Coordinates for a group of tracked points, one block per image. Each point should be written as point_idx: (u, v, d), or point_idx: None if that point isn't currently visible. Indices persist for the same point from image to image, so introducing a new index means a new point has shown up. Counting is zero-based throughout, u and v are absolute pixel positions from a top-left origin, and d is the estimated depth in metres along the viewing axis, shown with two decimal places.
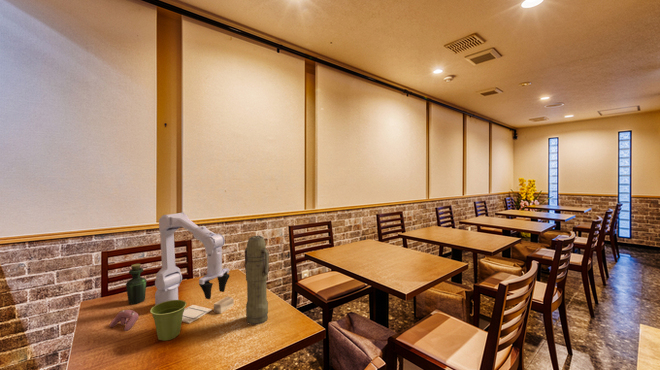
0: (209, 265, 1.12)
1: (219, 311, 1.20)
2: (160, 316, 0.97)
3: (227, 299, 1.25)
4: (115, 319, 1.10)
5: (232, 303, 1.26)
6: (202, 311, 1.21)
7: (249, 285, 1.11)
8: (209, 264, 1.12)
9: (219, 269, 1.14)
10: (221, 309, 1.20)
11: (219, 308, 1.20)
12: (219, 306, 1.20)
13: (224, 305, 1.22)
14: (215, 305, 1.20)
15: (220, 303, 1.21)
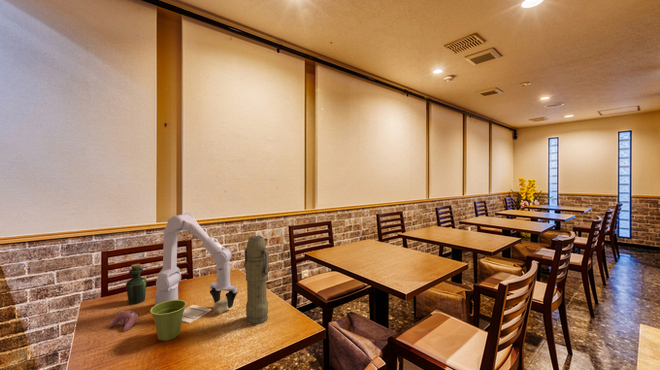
0: None
1: (219, 311, 1.20)
2: (160, 316, 0.97)
3: None
4: (114, 319, 1.10)
5: None
6: (202, 311, 1.21)
7: (249, 285, 1.11)
8: (220, 277, 1.21)
9: (218, 283, 1.21)
10: (221, 309, 1.20)
11: (219, 308, 1.20)
12: (219, 306, 1.20)
13: (224, 305, 1.22)
14: (215, 305, 1.21)
15: (220, 303, 1.21)
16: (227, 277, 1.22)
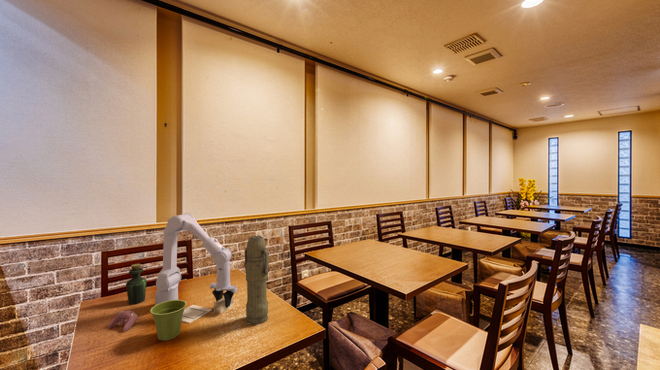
0: None
1: (219, 311, 1.20)
2: (160, 316, 0.97)
3: None
4: (114, 320, 1.09)
5: (232, 303, 1.26)
6: (202, 311, 1.21)
7: (249, 285, 1.11)
8: (220, 277, 1.21)
9: (218, 283, 1.21)
10: (221, 309, 1.20)
11: (219, 308, 1.20)
12: (219, 306, 1.20)
13: (224, 305, 1.21)
14: (215, 304, 1.21)
15: (220, 303, 1.21)
16: (227, 277, 1.22)
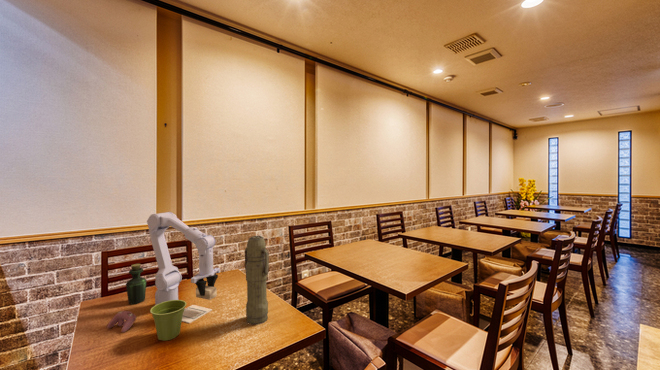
0: (201, 265, 1.18)
1: (215, 294, 1.21)
2: (160, 316, 0.97)
3: None
4: (112, 320, 1.09)
5: None
6: (202, 311, 1.21)
7: (249, 285, 1.11)
8: (201, 264, 1.18)
9: (210, 269, 1.20)
10: None
11: (215, 291, 1.21)
12: (215, 289, 1.21)
13: None
14: (211, 291, 1.19)
15: (212, 288, 1.21)
16: None
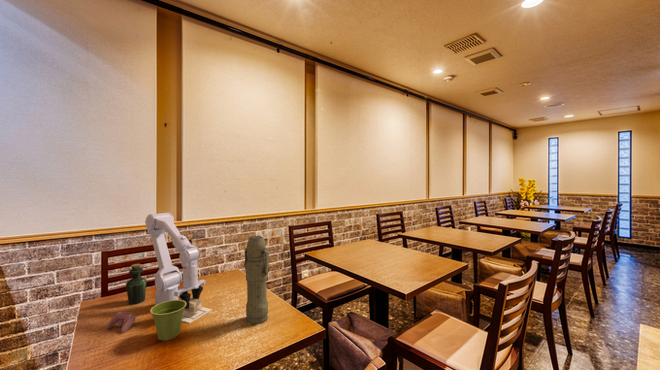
0: (185, 277, 1.16)
1: (200, 307, 1.19)
2: (160, 316, 0.97)
3: None
4: (112, 321, 1.09)
5: None
6: (202, 311, 1.21)
7: (249, 285, 1.11)
8: (184, 276, 1.16)
9: (194, 281, 1.18)
10: None
11: (200, 304, 1.19)
12: (200, 302, 1.19)
13: None
14: (195, 304, 1.17)
15: (196, 300, 1.19)
16: None
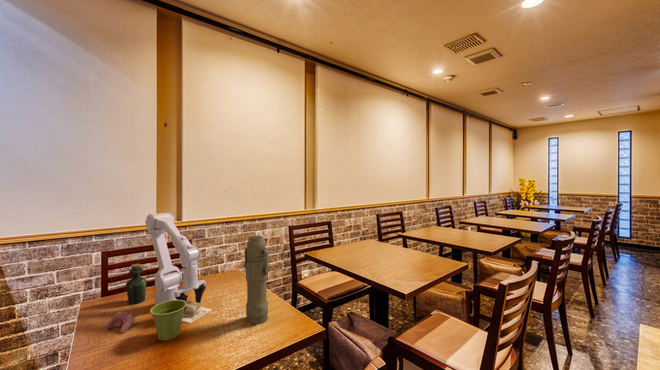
0: (185, 278, 1.16)
1: (200, 311, 1.19)
2: (160, 316, 0.97)
3: (188, 302, 1.20)
4: (111, 321, 1.08)
5: None
6: (202, 311, 1.21)
7: (249, 285, 1.11)
8: (184, 277, 1.16)
9: (194, 281, 1.18)
10: None
11: (200, 307, 1.19)
12: (200, 305, 1.19)
13: None
14: (195, 308, 1.17)
15: (196, 304, 1.19)
16: None
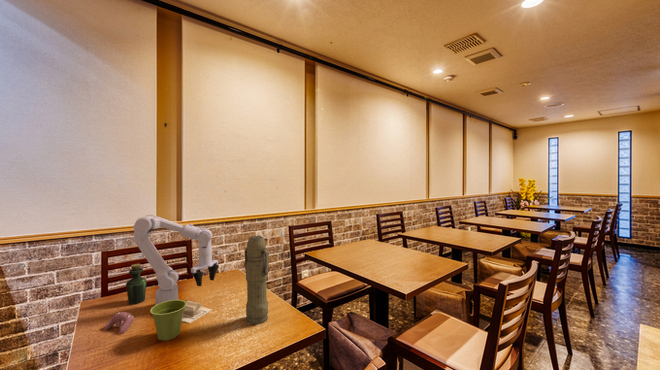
0: (200, 256, 1.27)
1: (200, 311, 1.19)
2: (160, 316, 0.97)
3: (188, 302, 1.20)
4: (110, 321, 1.08)
5: None
6: (202, 311, 1.21)
7: (249, 285, 1.11)
8: (204, 255, 1.27)
9: (209, 260, 1.29)
10: None
11: (200, 307, 1.19)
12: (200, 305, 1.19)
13: None
14: (195, 308, 1.17)
15: (196, 304, 1.19)
16: None
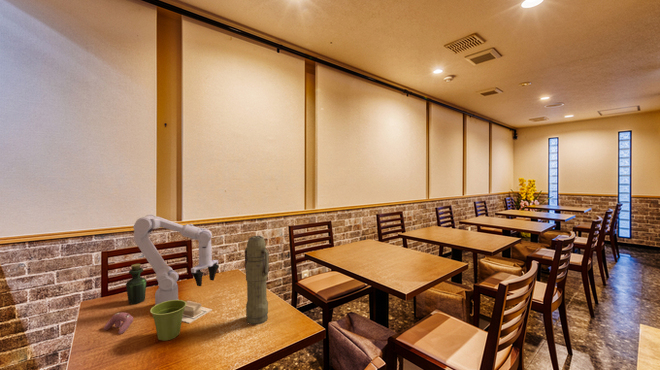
0: (200, 256, 1.27)
1: (200, 311, 1.19)
2: (160, 316, 0.97)
3: (188, 302, 1.20)
4: (109, 322, 1.08)
5: None
6: (202, 311, 1.21)
7: (249, 285, 1.11)
8: (204, 255, 1.27)
9: (209, 260, 1.29)
10: None
11: (200, 307, 1.19)
12: (200, 305, 1.19)
13: None
14: (195, 308, 1.17)
15: (196, 304, 1.19)
16: None
